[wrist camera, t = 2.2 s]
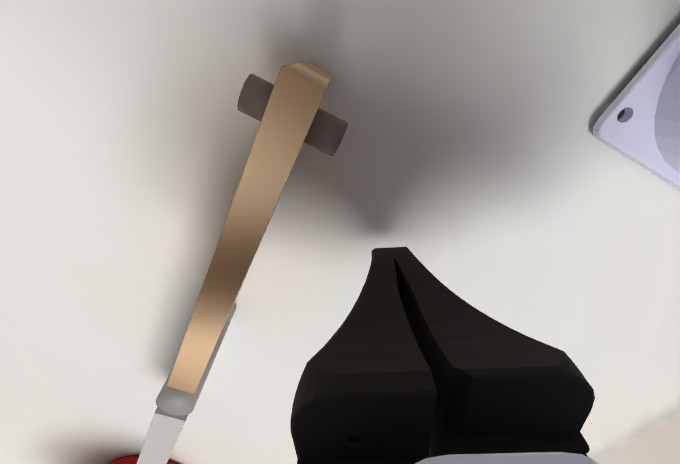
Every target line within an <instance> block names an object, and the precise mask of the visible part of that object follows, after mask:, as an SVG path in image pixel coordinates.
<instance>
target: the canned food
mask: <svg viewBox="0 0 680 464" xmlns="http://www.w3.org/2000/svg"><path fill="white" fill-rule="evenodd" d="M138 459H139V456H128V457H123V458H119V459H117V460H114V461H112V462H110V463H109V464H137V461H138ZM167 464H177V463H174V462H172V461H169V460H168V462H167Z"/></svg>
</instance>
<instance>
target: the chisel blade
mask: <svg viewBox="0 0 680 464" xmlns="http://www.w3.org/2000/svg"><path fill="white" fill-rule="evenodd" d="M235 309H236V304H235V302H234V304H233V307H232V309H231V311H230V313H229V316H228V318H227V320H226V323H225V325H224V327H223V329H222V332H221V334H220V336H219V339H218V341H217V343H216V345H215V348H214V350H213V352H212V355H211V357H210V359H209V361H208V364H207V366H206V368H205V370H204V373H203V375H202V377H201V380H200V382H199V384H198V386H197V389H196V391H195V393H194V394H193V393H189V392H186V391H182V390H179V389H175V388H172V387H168V386H167V384H168V382H169V379H170V376H171V373H172V371H171V373H170V375H169V377H168V378H167V380H166V382H165V384H164V386H163V388H162V390H161V391H160V393H159V395H158V397H157V399H156V404H157V406H158V407H157V409H156V411H155V413H154V416H153V419H152V421H151V424H150V427H149V430H148V433H147V436H146V439H145V441H144V444H143V447H142V450H141V453H140V456H139V459H138V461H137V464H167V462H168V459H169V457H170V455H171V452H172V450H173V448H174V446H175V443H176V441H177V439H178V437H179V434H180V432H181V430H182V427H183V425H184V423H185V421H186V418H187V416H188V414H189V413H191V412H192V411H193V409H194V407H195V404H196V402H197V399H198V397H199V395H200V392H201V390H202V388H203V385H204V383H205V381H206V378H207V376H208V373H209V371H210V369H211V366H212V364H213V362H214V359H215V357H216V354H217V352H218V350H219V347H220V345H221V343H222V340H223V338H224V336H225V333H226V331H227V328H228V326H229V324H230V321H231V319H232V317H233V314H234V312H235ZM173 368H174V367H173ZM172 370H173V369H172Z"/></svg>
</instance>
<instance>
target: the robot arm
mask: <svg viewBox="0 0 680 464" xmlns="http://www.w3.org/2000/svg"><path fill="white" fill-rule="evenodd" d="M624 108H625V113H624V115H623V116H622V117H621V118H620V119H619V120H617V116H618V114H619V112H620V111H621V110H623V109H624ZM593 135H594V136H595V137H596V138H597V139H599V140H600V141H602V142H604V143H605V144H607V145H608V146H610V147H612V148H613V149H615V150H616V151H618V152H620V153H621V154H623V155H625V156H626V157H628V158H629V159H631V160H633V161H634V162H636V163H638V164H639V165H641V166H642V167H644V168H646V169H647V170H649V171H651V172H652V173H654V174H655V175H657V176H659V177H660V178H662V179H663V180H665V181H667V182H668V183H670V184H672V185H673V186H675V187H676V188H678V189H680V24H679V25H678V26H677V27H676V28H675V30H674V31H673V32H672V33H671V34H670V35H669V37H668V38H667V39H666V40H665V41H664V42H663V44H662V45H661V46H660V47H659V48H658V49H657V51H656V52H655V53H654V54H653V55H652V57H651V58H650V59H649V60H648V61H647V62H646V64H645V65H644V66H643V67H642V68H641V69H640V71H639V72H638V73H637V74H636V75H635V76H634V78H633V79H632V80H631V81H630V82H629V83H628V85H627V86H626V87H625V88H624V89H623V90H622V92H621V93H620V94H619V95H618V96H617V97H616V99H615V100H614V101H613V102H612V103H611V105H610V106H609V107H608V108H607V109H606V110H605V112H604V113H603V114H602V115H601V116H600V117H599V119H598V120H597V121H596V123H595V124H594V127H593ZM594 399H595V396H594V391H593V388H592V387H591V386H590V384H589V383H588V382H587V380H586V379H585V378H584V376H583V375H582V373H581V372H580V370H579V369H578V368H577V366H576V365H575V364H574V363H573V361H572V360H571V359H570V358H569V357H568V356H567V354H566V353H565V352H564V351H562V350H559V349H557V348H554V347H552V346H549V345H547V344H544V343H542V342H540V341H537V340H535V339H532V338H530V337H528V336H525V335H523V334H521V333H519V332H517V331H515V330H513V329H511V328H509V327H507V326H505V325H503V324H501V323H499V322H498V321H496V320H494V319H492V318H491V317H489V316H487V315H485V314H484V313H482V312H480V311H479V310H477V309H476V308H474V307H472V306H471V305H470V304H468V303H467V302H465V301H464V300H462V299H461V298H460V297H458V296H457V295H456V294H454V293H453V292H452V291H450V290H449V289H448V288H447V287H446V286H444V285H443V284H442V283H441V282H440V281H439V280H438V279H437V278H436V277H435V276H434V275H433V274H431V273H430V272H429V271H428V270H427V269H426V268H425V267H424V266H423V264H422V263H421V262H420V261H419V260H418V259H417V258H416V257H415V256H414V255H413V254H412V252H411V251H410V250H409V249H408V248H407V247H395V248H375V249H374V250H372V261H371V266H370V270H369V273H368V276H367V279H366V282H365V284H364V286H363V289H362V291H361V293H360V296H359V298H358V300H357V301H356V303H355V305H354V307H353V309H352V310H351V312H350V313H349V315H348V316H347V318H346V319H345V321H344V322H343V324H342V325H341V327H340V328H339V329H338V330H337V332H336V333H335V334H334V335H333V336H332V338H331V339H330V340H329V341H328V342H327V343H326V345H325V346H324V347H323V348H322V349H321V350H320V351H319V352H318V353H317V354H315V355H314V356H313V357H312V358H311V359H310V360H309V361H308V362H307V364H306V366H305V369H304V371H303V374H302V376H301V379H300V381H299V384H298V387H297V390H296V394H295V398H294V402H293V408H292V415H291V434H292V438H293V442H294V446H295V450H296V454H297V458H298V461H297V464H598V463H597V462H595V461H594V460H592V459H591V458H589V457H588V456H587V454H586V453H588V452H589V445H588V444H587V442H586V441H585V439H584V437H583V436H582V434H581V433H580V430H581V428H582V426H583V424H584V423H585V421H586V419H587V417H588V415H589V413H590V411H591V409H592V406H593V402H594Z"/></svg>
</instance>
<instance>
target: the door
mask: <svg viewBox="0 0 680 464" xmlns="http://www.w3.org/2000/svg"><path fill="white" fill-rule="evenodd" d="M332 76H333V75H332V74H330V73H328V72H326V71H325V70H323V69H321V68H319V67H317V66H315V65H314V64H312V63H310V62H308V61H303V62H299V63H294V64H290V65H286V66H281V68H280V70H279V73H278V76H277V79H276V82H275V85H273V84H271V83H269V82H267V81H265V80H263V79H261V78H259V77H257V76H255V75H254V74H250V75H249V76H248V78H247V79H246V81H245V83H244V85H243V88H242V90H241V93H240V96H239V100H238V110H239V111H241V112H243V113H245V114H247V115H249V116H251V117H253V118H255V119H257V120H259V121H261V124H260V127H259V129H258V132H257V135H256V138H255V141H254V143H253V146H252V149H251V152H250V155H249V157H248V160H247V163H246V166H245V169H244V171H243V174H242V177H241V180H240V183H239V185H238V188H237V191H236V194H235V197H234V199H233V202H232V205H231V208H230V211H229V213H228V216H227V219H226V222H225V225H224V227H223V230H222V233H221V236H220V239H219V241H218V244H217V247H216V250H215V253H214V255H213V258H212V261H211V264H210V267H209V269H208V272H207V275H206V278H205V281H204V283H203V286H202V289H201V292H200V295H199V298H198V300H197V303H196V306H195V309H194V312H193V314H192V317H191V320H190V323H189V326H188V328H187V331H186V334H185V337H184V340H183V342H182V345H181V348H180V351H179V354H178V356H177V359H176V362H175V365H174V368H173V370H172V373H171V376H170V379H169V382H168V384H167V386H168V387H172V388H175V389H179V390H182V391H186V392H189V393H193V394H194V393H195V391H196V389H197V386H198V384H199V382H200V380H201V377H202V375H203V373H204V370H205V368H206V366H207V364H208V361H209V359H210V357H211V355H212V352H213V350H214V348H215V345H216V343H217V341H218V339H219V336H220V334H221V332H222V329H223V327H224V325H225V323H226V320H227V318H228V316H229V313H230V311H231V309H232V307H233V304H234V302H235V300H236V297H237V295H238V293H239V291H240V288H241V286H242V284H243V281H244V279H245V277H246V274H247V272H248V270H249V267H250V265H251V263H252V261H253V258H254V256H255V254H256V251H257V249H258V247H259V244H260V242H261V240H262V237H263V235H264V233H265V231H266V228H267V226H268V224H269V221H270V219H271V217H272V214H273V212H274V210H275V207H276V205H277V203H278V201H279V198H280V196H281V194H282V191H283V189H284V187H285V184H286V182H287V180H288V177H289V175H290V173H291V171H292V168H293V166H294V164H295V161H296V159H297V157H298V154H299V152H300V150H301V147H302V145H303V143H306V144H309V145H311V146H313V147H315V148H317V149H319V150H321V151H323V152H325V153H327V154H329V155H331V156H333V155H334V153H335V152H336V150H337V148H338V146H339V144H340V142H341V140H342V138H343V135H344V133H345V131H346V128H347V125H348V123H346V122H345V121H343V120H341V119H339V118H337V117H335V116H333V115H331V114H329V113H327V112H325V111H323V110H321V109H319V106H320V104H321V101H322V99H323V97H324V94H325V92H326V90H327V87H328V85H329V83H330V81H331V78H332Z"/></svg>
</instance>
